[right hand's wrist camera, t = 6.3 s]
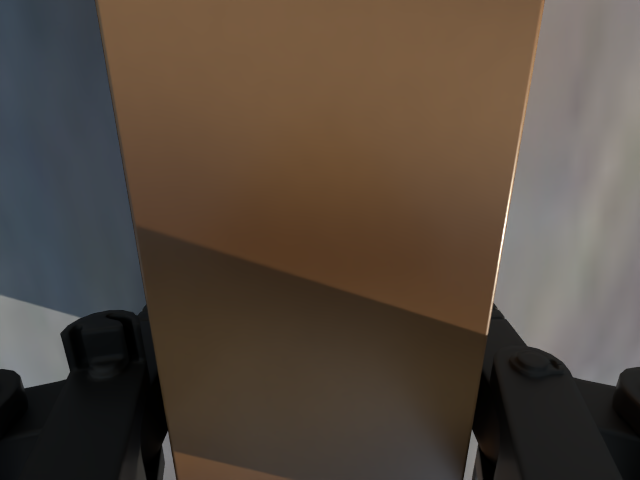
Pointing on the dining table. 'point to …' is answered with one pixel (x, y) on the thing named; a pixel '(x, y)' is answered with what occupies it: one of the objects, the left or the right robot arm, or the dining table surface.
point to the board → (319, 222)
